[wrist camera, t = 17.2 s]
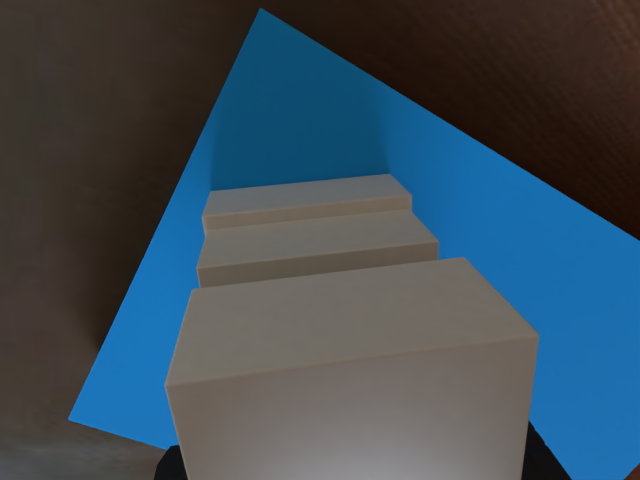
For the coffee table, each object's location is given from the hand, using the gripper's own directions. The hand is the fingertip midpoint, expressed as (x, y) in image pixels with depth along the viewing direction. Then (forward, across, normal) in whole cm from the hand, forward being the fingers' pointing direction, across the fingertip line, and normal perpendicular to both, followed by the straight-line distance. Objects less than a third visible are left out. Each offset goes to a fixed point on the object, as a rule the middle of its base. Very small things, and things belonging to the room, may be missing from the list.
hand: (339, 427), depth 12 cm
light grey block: (0, 0, 0) cm, 0 cm away
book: (+10, -5, +4) cm, 12 cm away
